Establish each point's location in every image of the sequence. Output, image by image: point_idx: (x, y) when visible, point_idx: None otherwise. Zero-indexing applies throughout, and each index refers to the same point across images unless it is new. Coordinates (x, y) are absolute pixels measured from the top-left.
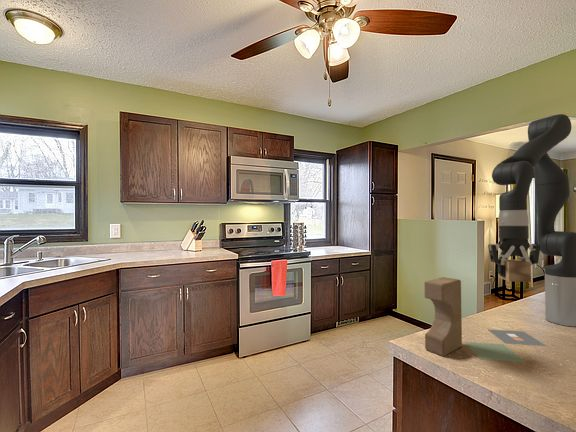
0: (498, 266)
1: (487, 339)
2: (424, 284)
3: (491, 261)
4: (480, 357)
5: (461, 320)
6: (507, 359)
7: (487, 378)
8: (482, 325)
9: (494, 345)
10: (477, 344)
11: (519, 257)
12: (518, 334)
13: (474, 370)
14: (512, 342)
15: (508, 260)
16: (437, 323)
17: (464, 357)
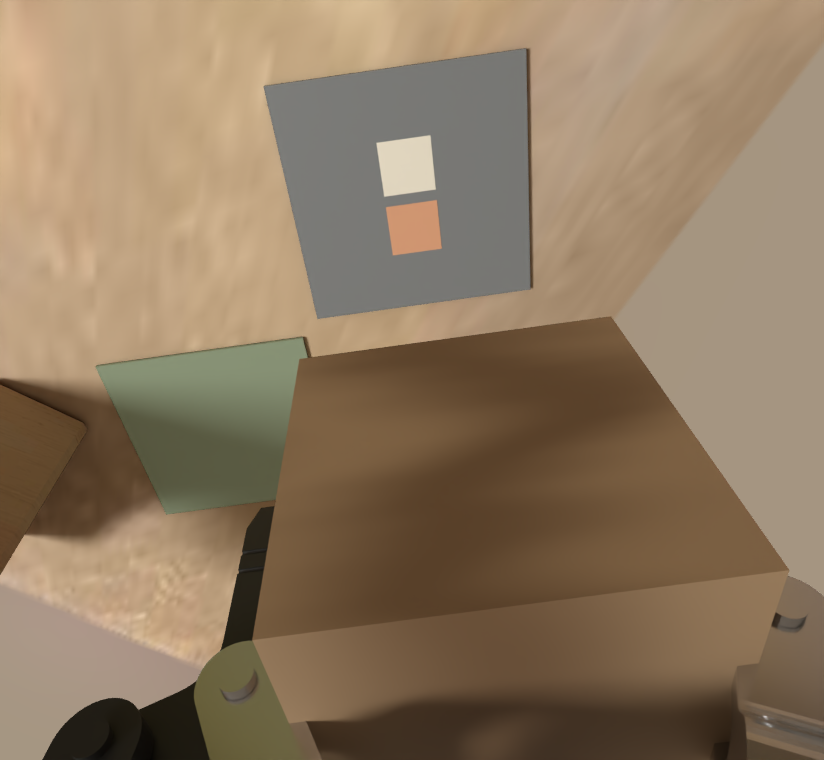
0: (234, 640)
1: (232, 281)
2: None
3: (78, 725)
4: (166, 503)
5: (25, 532)
6: (272, 488)
7: (174, 613)
8: None
9: (251, 365)
10: (165, 380)
11: (738, 750)
12: (457, 133)
13: (137, 585)
14: (360, 296)
15: (433, 727)
16: None
17: (103, 513)
